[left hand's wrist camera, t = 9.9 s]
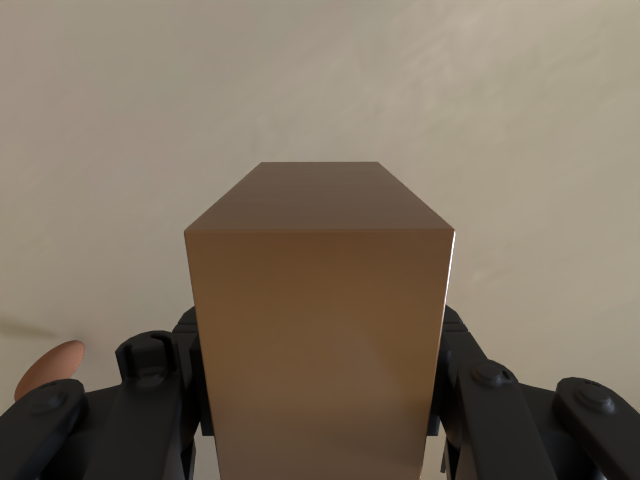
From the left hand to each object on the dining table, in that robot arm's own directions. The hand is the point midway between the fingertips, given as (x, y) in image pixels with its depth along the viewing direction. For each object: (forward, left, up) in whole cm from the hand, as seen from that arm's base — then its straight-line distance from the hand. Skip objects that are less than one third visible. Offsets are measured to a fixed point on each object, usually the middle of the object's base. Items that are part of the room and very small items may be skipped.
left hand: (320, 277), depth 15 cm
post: (-3, -30, -1) cm, 30 cm away
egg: (-17, -6, -6) cm, 19 cm away
